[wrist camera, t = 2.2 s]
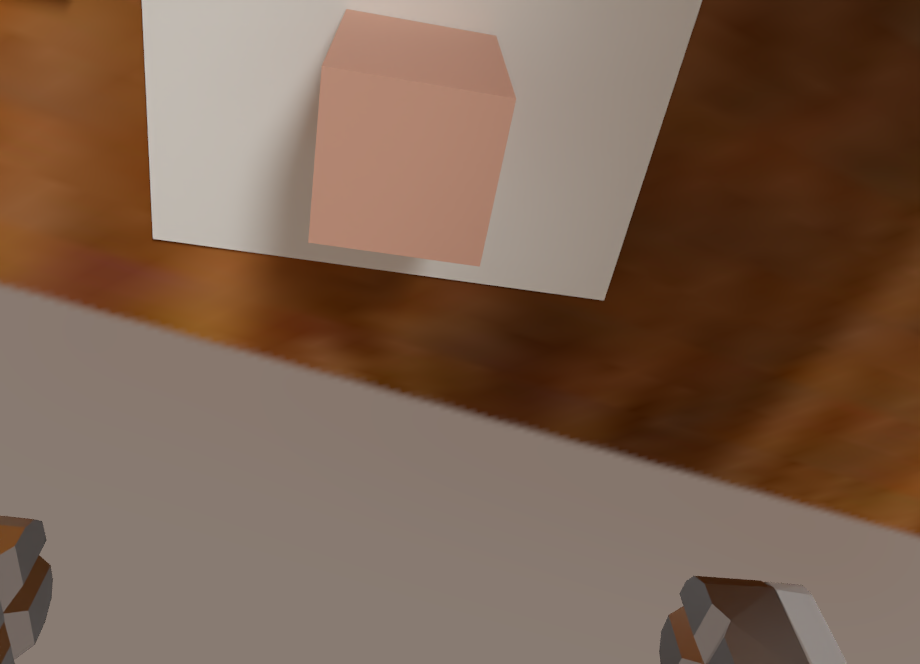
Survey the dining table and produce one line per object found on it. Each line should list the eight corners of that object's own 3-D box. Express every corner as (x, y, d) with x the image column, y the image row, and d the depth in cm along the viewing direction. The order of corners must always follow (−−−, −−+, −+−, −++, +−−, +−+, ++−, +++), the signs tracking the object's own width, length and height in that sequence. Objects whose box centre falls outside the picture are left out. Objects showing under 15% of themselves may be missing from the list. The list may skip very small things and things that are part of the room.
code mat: (725, -77, 24) (727, -77, 24) (603, 298, 32) (604, 301, 32) (134, -199, 22) (131, -199, 22) (154, 236, 30) (152, 239, 29)
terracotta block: (496, 35, 26) (516, 98, 20) (468, 175, 28) (479, 266, 23) (346, 8, 25) (321, 65, 19) (333, 154, 28) (308, 242, 22)
